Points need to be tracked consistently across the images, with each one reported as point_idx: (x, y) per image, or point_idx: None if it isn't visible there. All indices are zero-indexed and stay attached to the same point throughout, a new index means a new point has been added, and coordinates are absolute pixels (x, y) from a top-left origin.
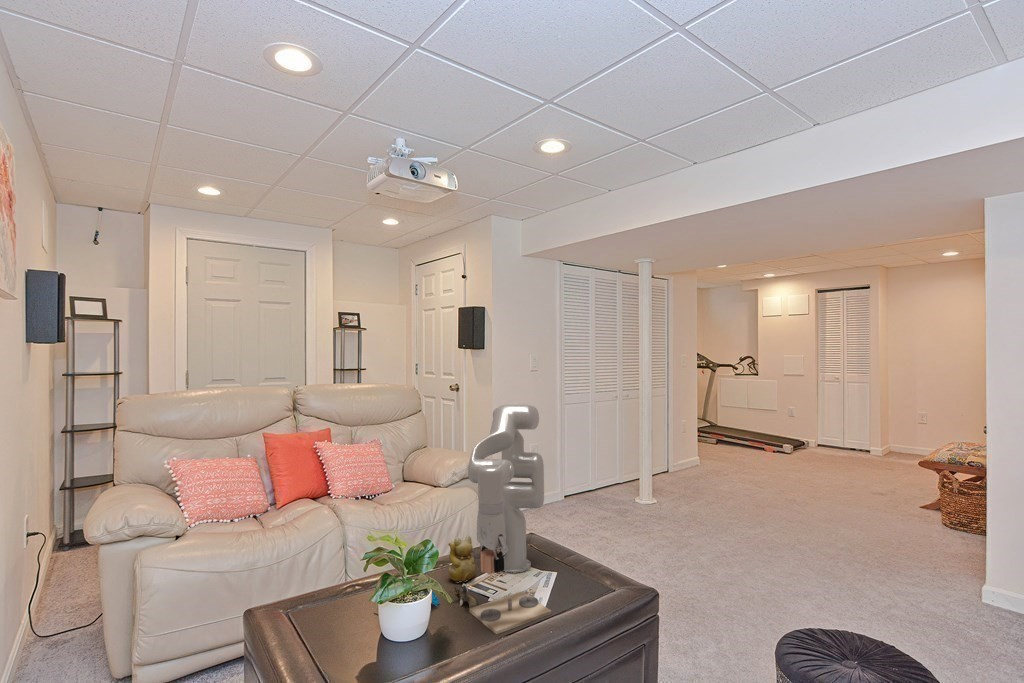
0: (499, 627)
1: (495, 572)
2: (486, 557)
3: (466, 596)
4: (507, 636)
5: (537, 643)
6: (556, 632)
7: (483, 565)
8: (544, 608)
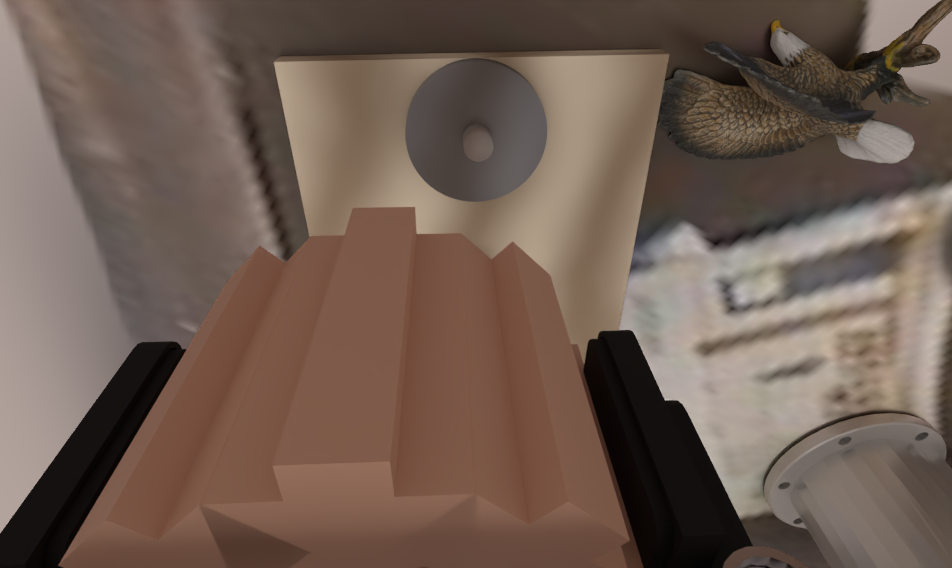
0: (310, 107)
1: (140, 346)
2: (196, 485)
3: (721, 54)
4: (228, 110)
5: (88, 217)
6: (170, 340)
7: (329, 289)
8: None
